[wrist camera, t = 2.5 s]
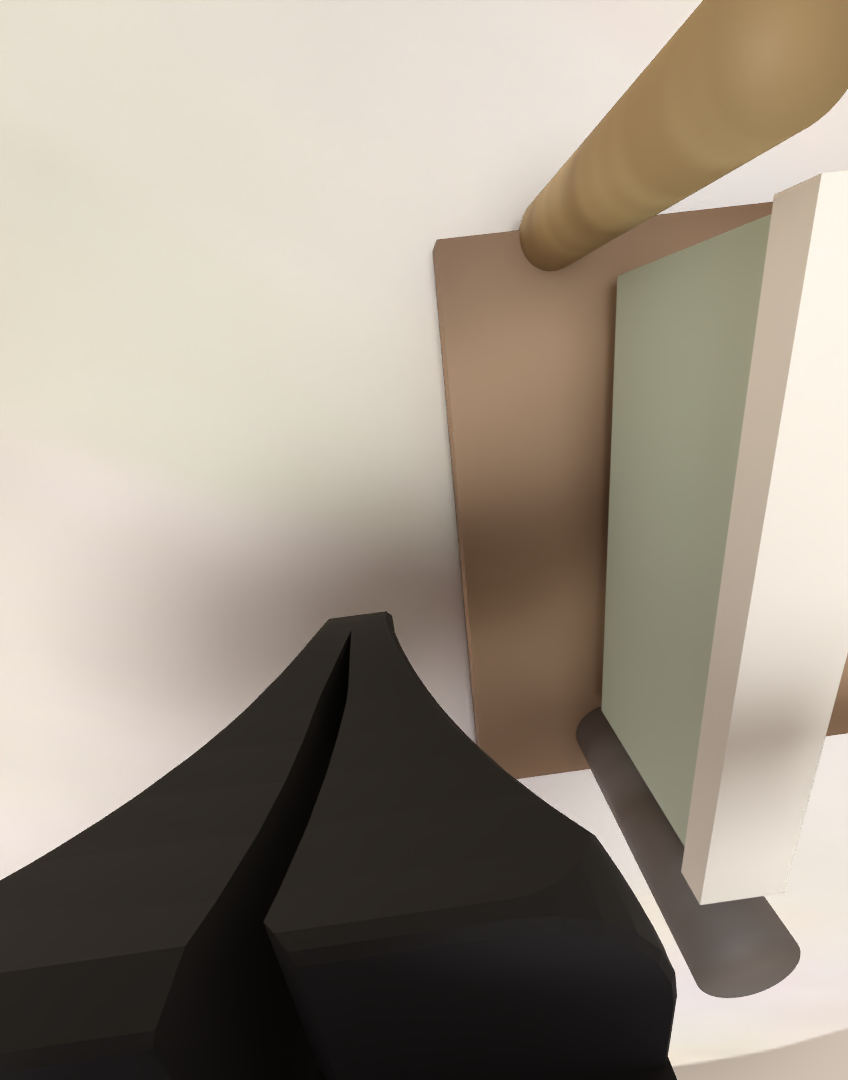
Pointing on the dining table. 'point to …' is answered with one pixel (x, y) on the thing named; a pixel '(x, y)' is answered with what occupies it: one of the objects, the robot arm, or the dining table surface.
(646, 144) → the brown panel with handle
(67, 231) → the dining table surface
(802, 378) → the gate leaf
